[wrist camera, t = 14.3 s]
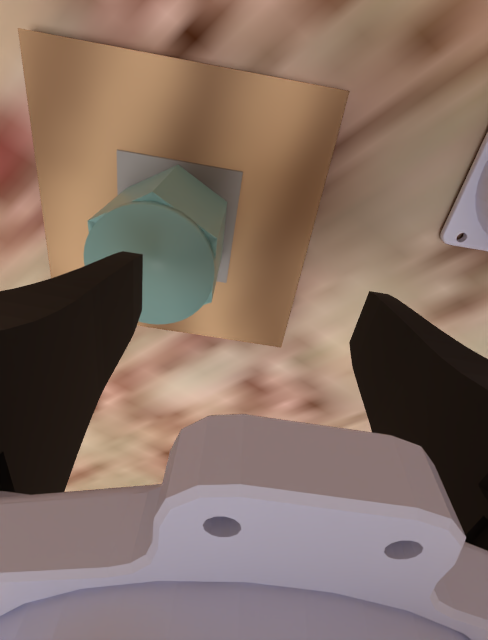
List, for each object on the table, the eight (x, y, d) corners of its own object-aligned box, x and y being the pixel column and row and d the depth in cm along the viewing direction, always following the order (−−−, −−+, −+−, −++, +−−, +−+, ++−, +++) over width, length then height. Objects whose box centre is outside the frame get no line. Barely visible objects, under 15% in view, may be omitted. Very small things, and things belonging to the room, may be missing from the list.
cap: (196, 288, 22) (177, 347, 17) (104, 227, 20) (54, 275, 15) (250, 218, 19) (247, 265, 15) (152, 143, 18) (112, 168, 13)
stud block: (344, 90, 17) (371, 95, 13) (280, 336, 25) (283, 391, 21) (32, 30, 17) (-50, 15, 12) (64, 303, 24) (20, 353, 20)
